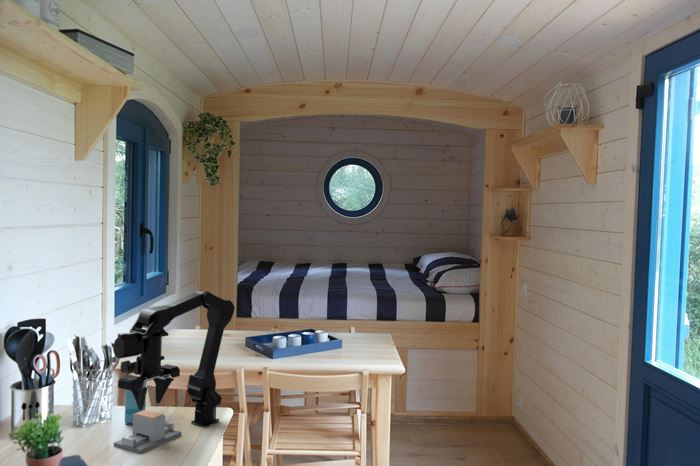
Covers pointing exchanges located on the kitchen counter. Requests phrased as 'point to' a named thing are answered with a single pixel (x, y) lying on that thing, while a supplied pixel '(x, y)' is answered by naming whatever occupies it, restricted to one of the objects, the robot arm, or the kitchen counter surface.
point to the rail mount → (146, 440)
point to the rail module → (149, 425)
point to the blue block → (131, 406)
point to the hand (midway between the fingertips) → (149, 406)
